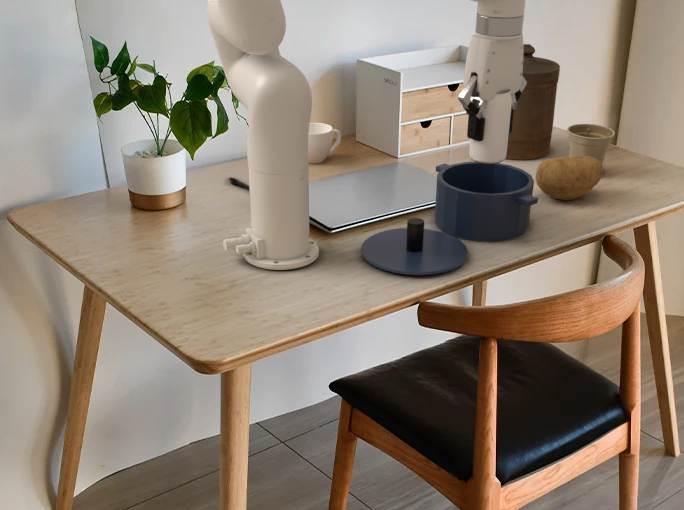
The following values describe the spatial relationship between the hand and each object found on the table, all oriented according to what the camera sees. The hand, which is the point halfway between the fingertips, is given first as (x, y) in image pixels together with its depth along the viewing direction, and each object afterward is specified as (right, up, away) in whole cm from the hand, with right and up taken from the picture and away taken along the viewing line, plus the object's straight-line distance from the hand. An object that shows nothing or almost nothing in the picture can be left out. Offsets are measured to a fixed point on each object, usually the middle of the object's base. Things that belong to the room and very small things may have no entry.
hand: (489, 134), depth 157 cm
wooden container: (+12, +8, +44) cm, 46 cm away
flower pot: (+24, 0, +32) cm, 40 cm away
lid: (-13, -21, -4) cm, 25 cm away
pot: (0, -14, +9) cm, 16 cm away
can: (0, -4, +2) cm, 4 cm away
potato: (+18, -7, +20) cm, 28 cm away
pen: (-44, -6, +21) cm, 49 cm away
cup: (-31, +4, +36) cm, 48 cm away
